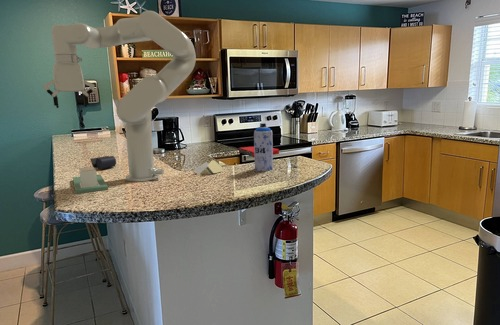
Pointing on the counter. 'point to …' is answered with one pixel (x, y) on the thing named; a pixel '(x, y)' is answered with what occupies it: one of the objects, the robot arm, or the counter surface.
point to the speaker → (103, 162)
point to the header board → (100, 187)
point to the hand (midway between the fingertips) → (71, 107)
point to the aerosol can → (263, 148)
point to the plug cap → (88, 177)
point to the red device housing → (250, 151)
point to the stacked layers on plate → (208, 168)
